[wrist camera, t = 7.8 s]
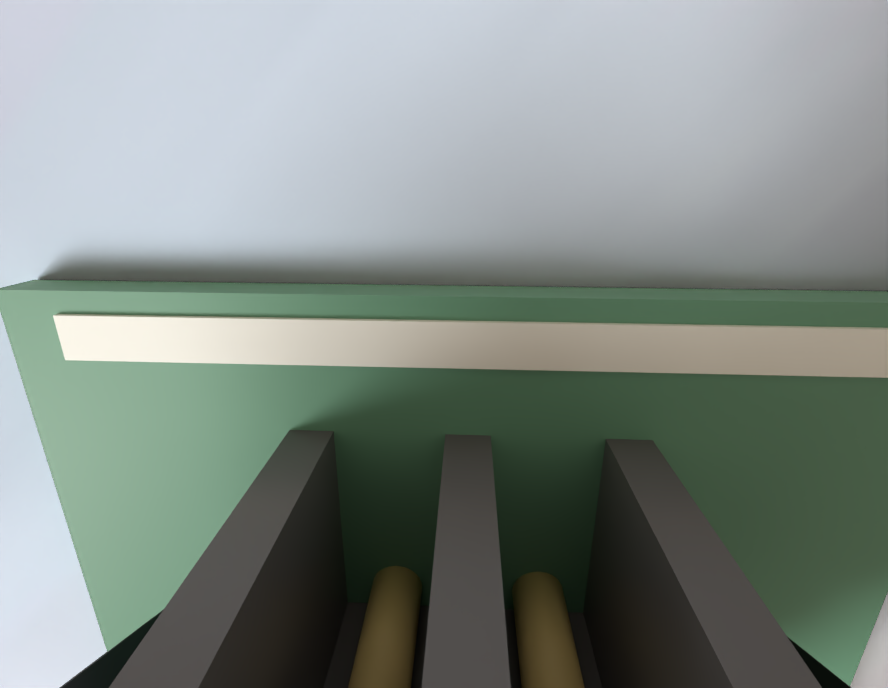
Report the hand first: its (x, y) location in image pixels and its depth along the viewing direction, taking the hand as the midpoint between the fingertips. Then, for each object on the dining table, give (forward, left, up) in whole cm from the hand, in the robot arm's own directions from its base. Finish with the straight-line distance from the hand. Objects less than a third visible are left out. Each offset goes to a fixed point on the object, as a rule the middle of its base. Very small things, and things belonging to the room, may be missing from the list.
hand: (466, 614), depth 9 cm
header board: (0, +4, -2) cm, 5 cm away
